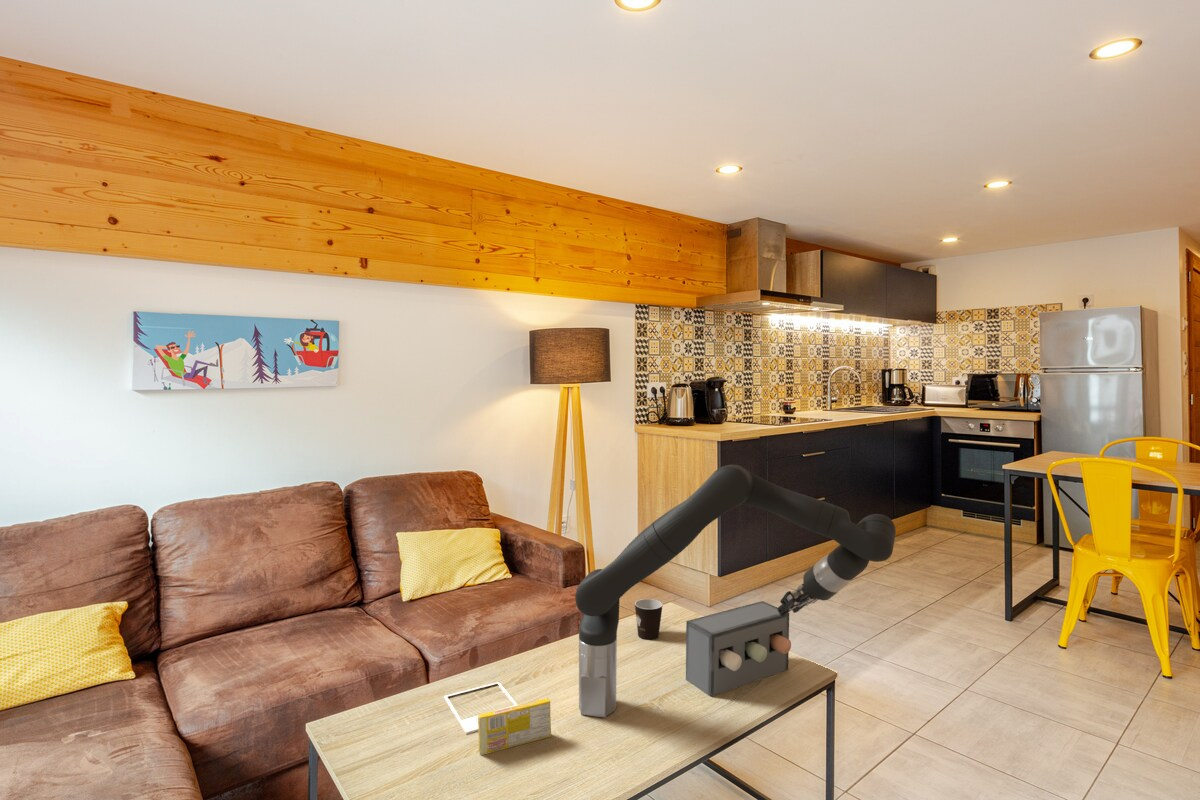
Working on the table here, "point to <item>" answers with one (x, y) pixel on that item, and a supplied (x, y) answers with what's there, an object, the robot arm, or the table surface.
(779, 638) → the terracotta button
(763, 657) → the sage button
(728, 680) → the console
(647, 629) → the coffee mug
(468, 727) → the photo frame
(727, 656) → the cream button
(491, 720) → the candy box
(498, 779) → the table surface
